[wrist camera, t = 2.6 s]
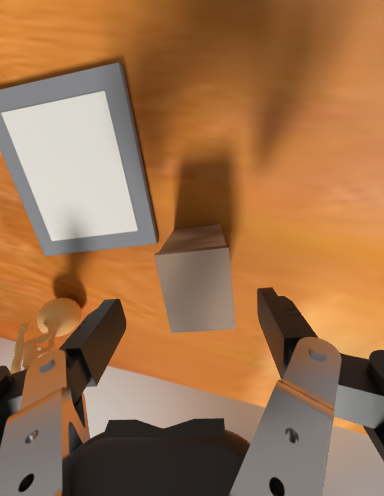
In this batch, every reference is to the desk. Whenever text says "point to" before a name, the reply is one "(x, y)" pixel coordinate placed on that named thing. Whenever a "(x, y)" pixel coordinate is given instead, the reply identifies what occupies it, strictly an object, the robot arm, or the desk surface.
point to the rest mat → (77, 161)
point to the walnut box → (197, 280)
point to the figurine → (46, 330)
